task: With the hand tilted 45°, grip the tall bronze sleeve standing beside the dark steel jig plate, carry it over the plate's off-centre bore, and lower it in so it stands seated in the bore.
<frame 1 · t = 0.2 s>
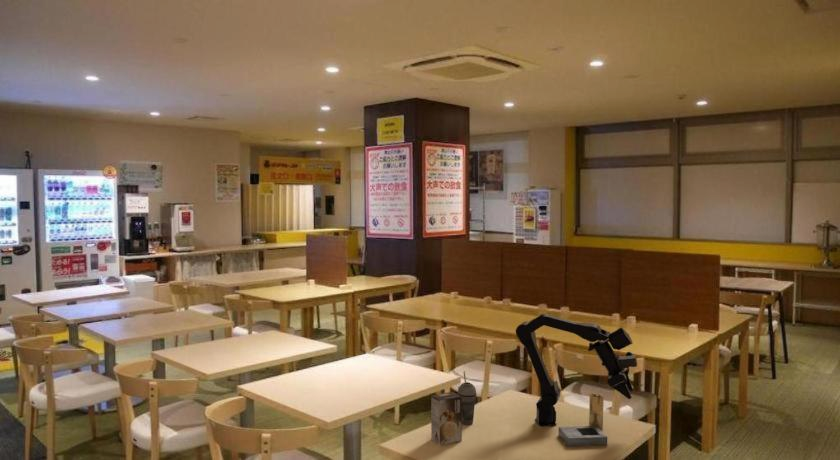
hand: (631, 394, 215), 15 cm above the table, tool tilted 35°, fingers open, 9 cm apart
coffee box: (446, 440, 211), on the table
beverage cup: (466, 423, 227), on the table
bushing: (595, 428, 222), on the table
jig: (582, 440, 212), on the table
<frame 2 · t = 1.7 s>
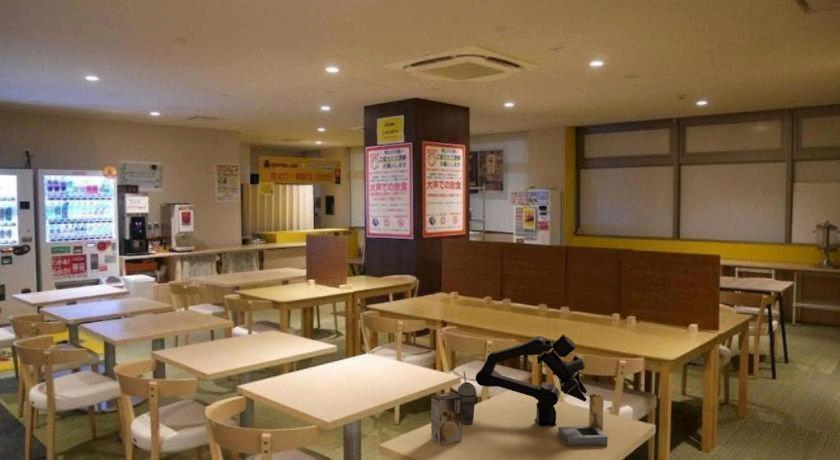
hand: (586, 396, 223), 12 cm above the table, tool tilted 45°, fingers open, 9 cm apart
nothing on the table moved.
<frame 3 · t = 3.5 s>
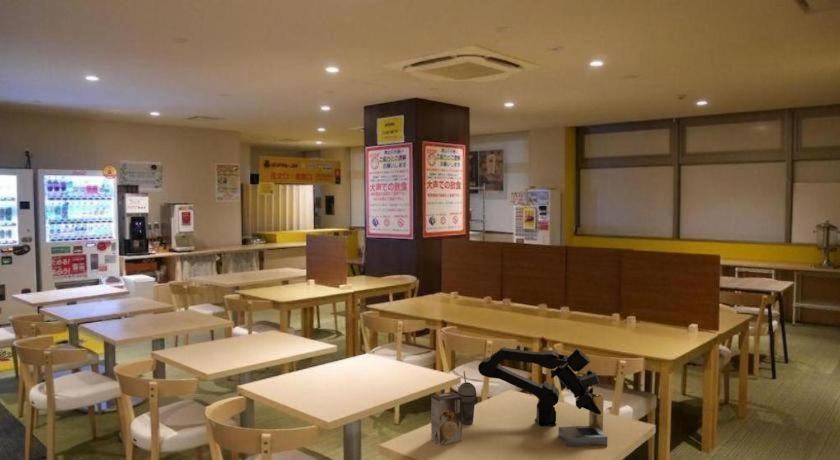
hand: (600, 411, 222), 7 cm above the table, tool tilted 45°, fingers closed on bushing, 5 cm apart
bushing: (595, 428, 222), on the table, touching gripper
everything else where it was.
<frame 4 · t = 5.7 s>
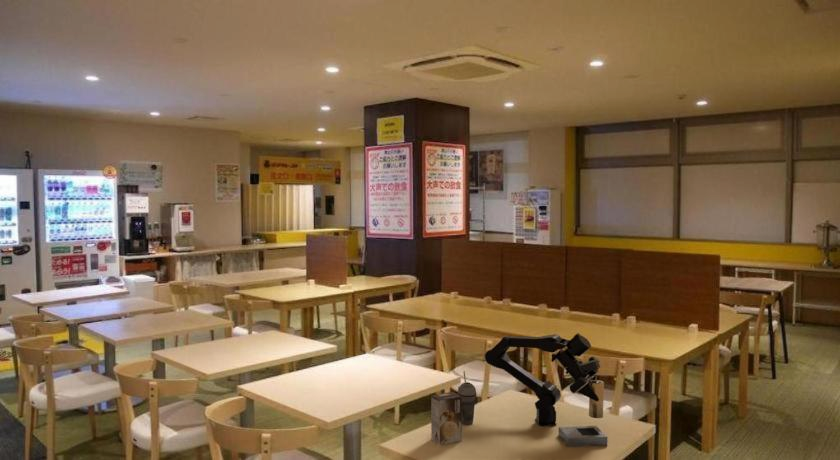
hand: (600, 398, 217), 13 cm above the table, tool tilted 45°, fingers closed on bushing, 5 cm apart
bushing: (595, 415, 218), point 6 cm above the table, touching gripper
everything else where it was.
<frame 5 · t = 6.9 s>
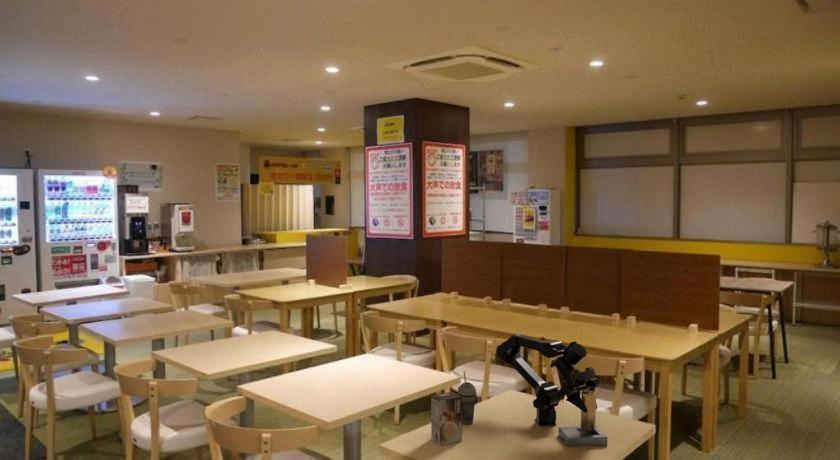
hand: (591, 410, 210), 11 cm above the table, tool tilted 45°, fingers closed on bushing, 5 cm apart
bushing: (587, 427, 212), point 4 cm above the table, touching gripper
everything else where it was.
when the fingers open (8 cm above the table, at t = 7.9 s): bushing drops 1 cm, resting in jig.
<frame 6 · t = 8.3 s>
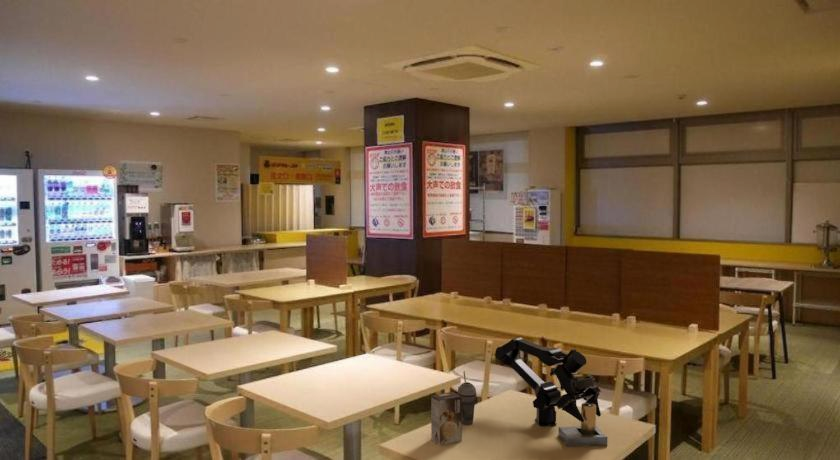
hand: (591, 418, 210), 8 cm above the table, tool tilted 45°, fingers open, 9 cm apart
bushing: (587, 439, 212), resting in jig
everything else where it was.
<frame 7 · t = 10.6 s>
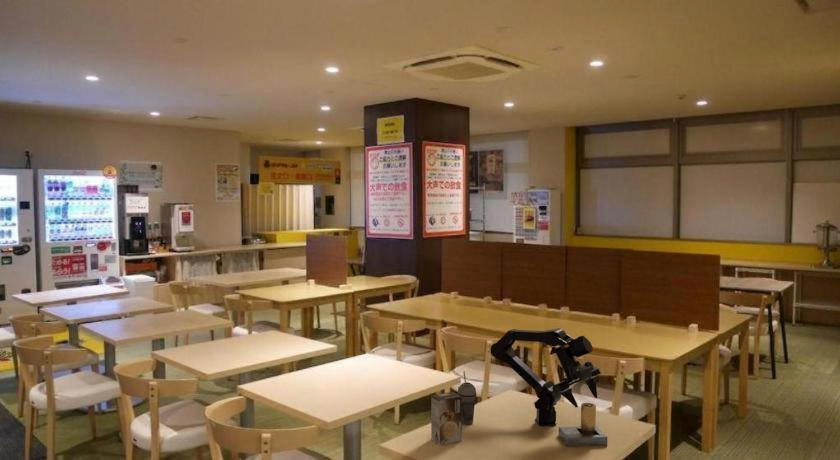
hand: (586, 402, 217), 11 cm above the table, tool tilted 30°, fingers open, 9 cm apart
nothing on the table moved.
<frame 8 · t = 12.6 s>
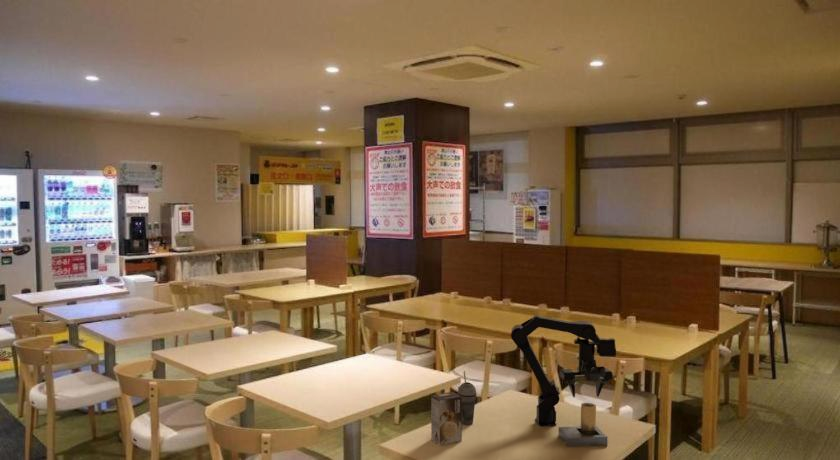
hand: (585, 396, 224), 11 cm above the table, tool pointing down, fingers open, 9 cm apart
nothing on the table moved.
at the end: bushing 0.1 cm from the target spot on the jig, point 0.0 cm above the jig's base; bushing tilted 0°; the gripper is holding nothing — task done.
